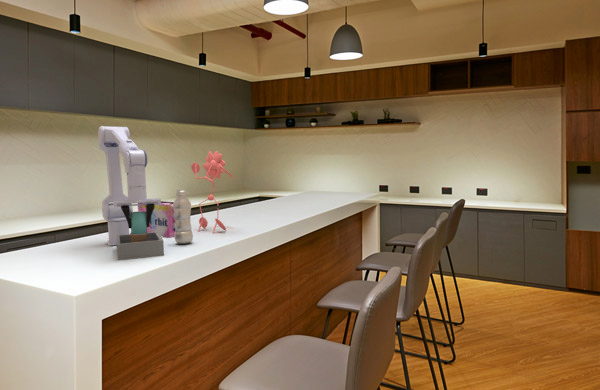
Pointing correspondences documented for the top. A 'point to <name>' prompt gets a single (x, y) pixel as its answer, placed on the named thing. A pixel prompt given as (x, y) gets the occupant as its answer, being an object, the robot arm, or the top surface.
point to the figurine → (214, 170)
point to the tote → (139, 246)
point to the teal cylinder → (138, 222)
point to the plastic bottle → (182, 218)
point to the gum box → (161, 219)
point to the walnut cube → (137, 238)
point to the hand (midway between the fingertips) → (139, 227)
